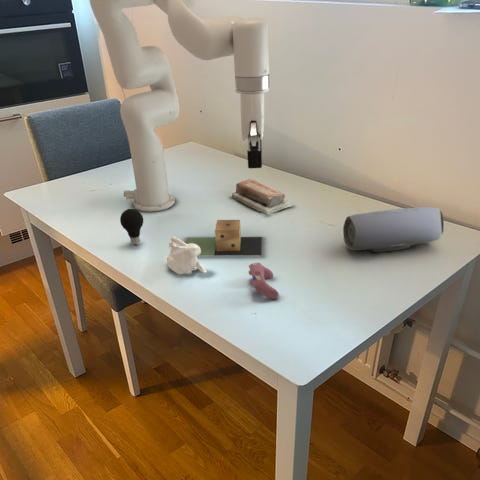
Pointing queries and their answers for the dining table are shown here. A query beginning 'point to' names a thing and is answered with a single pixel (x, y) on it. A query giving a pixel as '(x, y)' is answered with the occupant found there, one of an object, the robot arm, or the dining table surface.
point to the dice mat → (209, 249)
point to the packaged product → (260, 197)
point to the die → (228, 235)
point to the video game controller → (262, 280)
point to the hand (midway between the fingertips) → (255, 161)
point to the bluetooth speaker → (393, 228)
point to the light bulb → (132, 224)
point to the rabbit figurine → (184, 257)
